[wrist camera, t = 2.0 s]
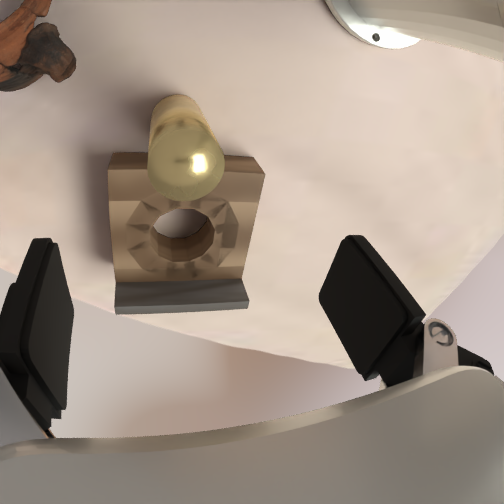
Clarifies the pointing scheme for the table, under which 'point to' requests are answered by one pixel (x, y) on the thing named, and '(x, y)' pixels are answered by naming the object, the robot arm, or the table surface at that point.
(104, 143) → the table surface
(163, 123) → the gold cylinder
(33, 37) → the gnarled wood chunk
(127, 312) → the jig
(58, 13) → the table surface
